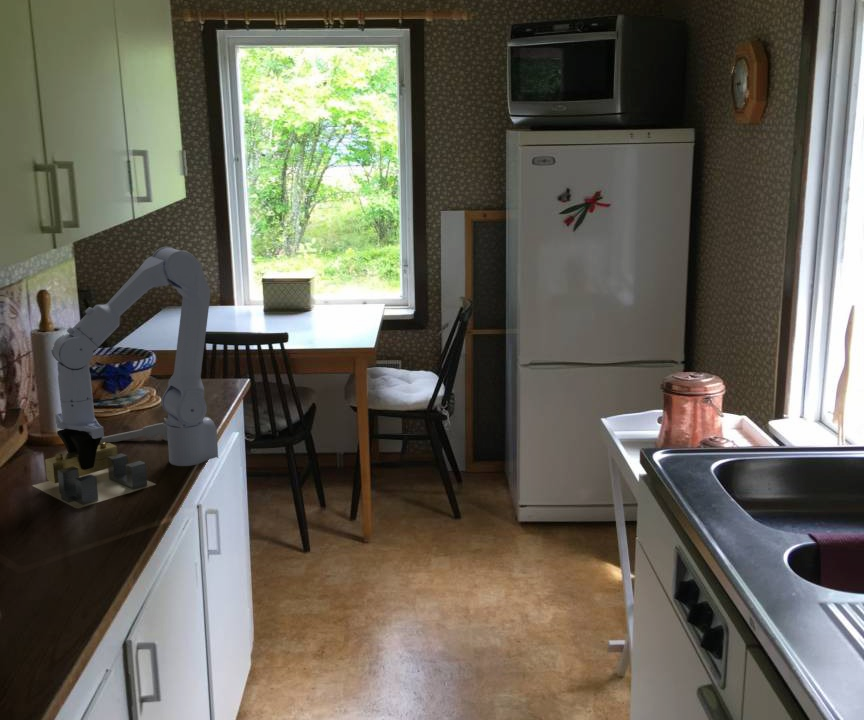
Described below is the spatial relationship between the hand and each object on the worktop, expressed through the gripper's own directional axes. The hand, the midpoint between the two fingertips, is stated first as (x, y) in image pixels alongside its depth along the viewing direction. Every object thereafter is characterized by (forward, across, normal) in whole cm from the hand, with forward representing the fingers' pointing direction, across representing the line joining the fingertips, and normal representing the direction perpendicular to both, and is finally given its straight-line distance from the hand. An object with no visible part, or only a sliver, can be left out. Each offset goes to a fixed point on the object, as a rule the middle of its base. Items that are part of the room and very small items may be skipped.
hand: (83, 466), depth 174 cm
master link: (+1, 0, 0) cm, 1 cm away
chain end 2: (+3, +8, +5) cm, 9 cm away
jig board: (+4, +4, 0) cm, 5 cm away
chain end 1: (+3, +8, -5) cm, 9 cm away
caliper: (+4, -15, +19) cm, 24 cm away
